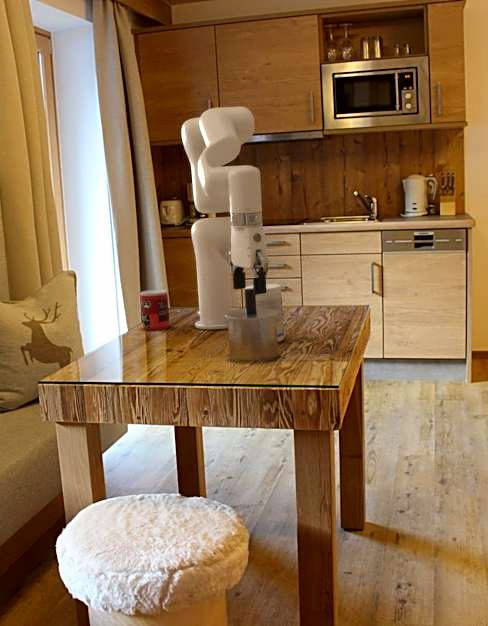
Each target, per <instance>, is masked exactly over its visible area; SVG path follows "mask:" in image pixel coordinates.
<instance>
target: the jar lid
mask: <svg viewBox="0 0 488 626" xmlns="http://www.w3.org/2000/svg"><path fill="white" fill-rule="evenodd" d="M244 304H245V305H244V306H245V307H244V308H240V309H233V310H232V311H230V312H227V313H225V318H227V319H230V320H241V321H248V320H262V319H268V318H272V317H275V316H277V315H278V311H276V310H274V309H266V308H256V295H255V294H254V290H253V288H249V289H245V288H244Z"/></svg>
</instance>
